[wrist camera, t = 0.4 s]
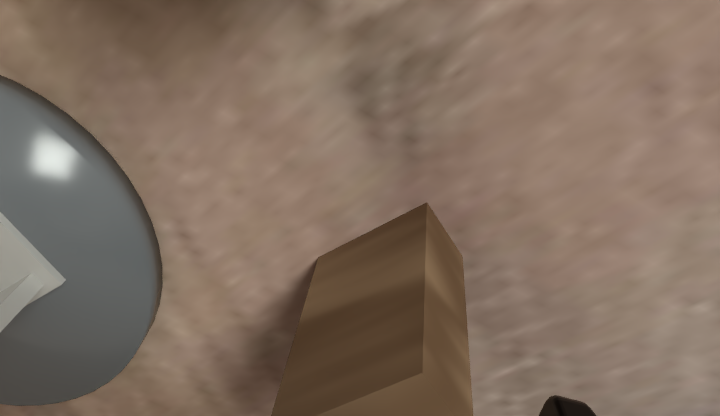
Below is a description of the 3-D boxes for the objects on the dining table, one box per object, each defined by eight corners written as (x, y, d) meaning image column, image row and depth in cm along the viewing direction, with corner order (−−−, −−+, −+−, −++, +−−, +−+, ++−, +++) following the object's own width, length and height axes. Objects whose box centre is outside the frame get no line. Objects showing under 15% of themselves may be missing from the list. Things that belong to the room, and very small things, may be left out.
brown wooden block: (462, 256, 22) (474, 442, 15) (355, 306, 23) (320, 496, 16) (426, 202, 21) (422, 372, 14) (318, 257, 22) (264, 436, 15)
